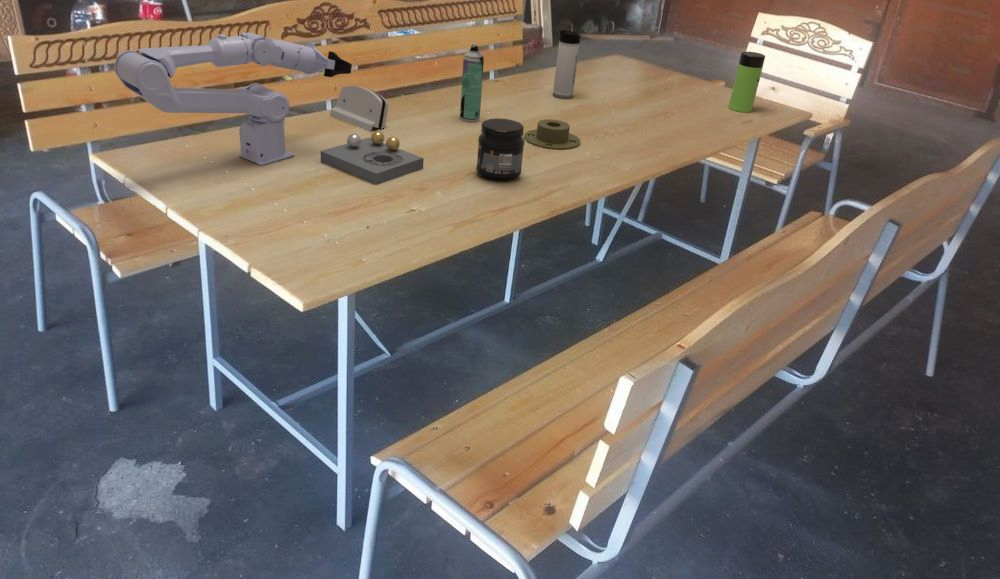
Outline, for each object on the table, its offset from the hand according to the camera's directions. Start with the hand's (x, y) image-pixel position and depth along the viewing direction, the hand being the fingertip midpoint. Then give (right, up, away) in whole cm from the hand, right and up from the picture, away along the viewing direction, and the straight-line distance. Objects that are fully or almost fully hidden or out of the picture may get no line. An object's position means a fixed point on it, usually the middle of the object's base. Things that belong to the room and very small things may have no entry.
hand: (340, 66), depth 183 cm
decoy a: (+9, -17, 0) cm, 19 cm away
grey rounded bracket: (+1, -8, +23) cm, 24 cm away
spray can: (+29, -5, +32) cm, 44 cm away
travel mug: (+57, +8, +61) cm, 84 cm away
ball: (+4, -18, -3) cm, 19 cm away
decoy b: (+13, -19, -3) cm, 23 cm away
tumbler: (+114, +5, +65) cm, 132 cm away
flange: (+51, -13, +23) cm, 58 cm away
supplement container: (+37, -26, -3) cm, 46 cm away
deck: (+8, -24, -4) cm, 25 cm away
